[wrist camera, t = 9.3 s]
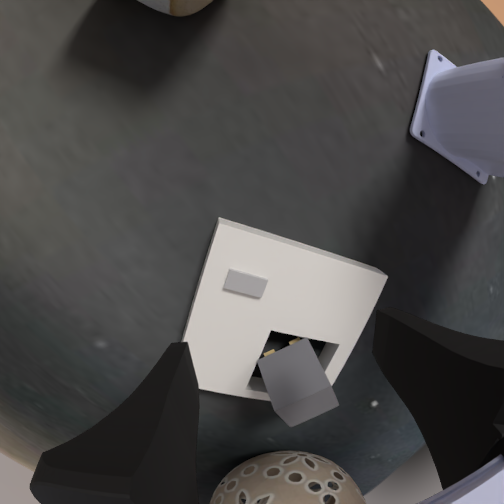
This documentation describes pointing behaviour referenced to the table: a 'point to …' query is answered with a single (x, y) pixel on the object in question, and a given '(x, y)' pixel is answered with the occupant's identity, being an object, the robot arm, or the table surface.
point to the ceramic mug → (177, 6)
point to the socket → (273, 305)
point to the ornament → (287, 481)
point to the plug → (296, 382)
